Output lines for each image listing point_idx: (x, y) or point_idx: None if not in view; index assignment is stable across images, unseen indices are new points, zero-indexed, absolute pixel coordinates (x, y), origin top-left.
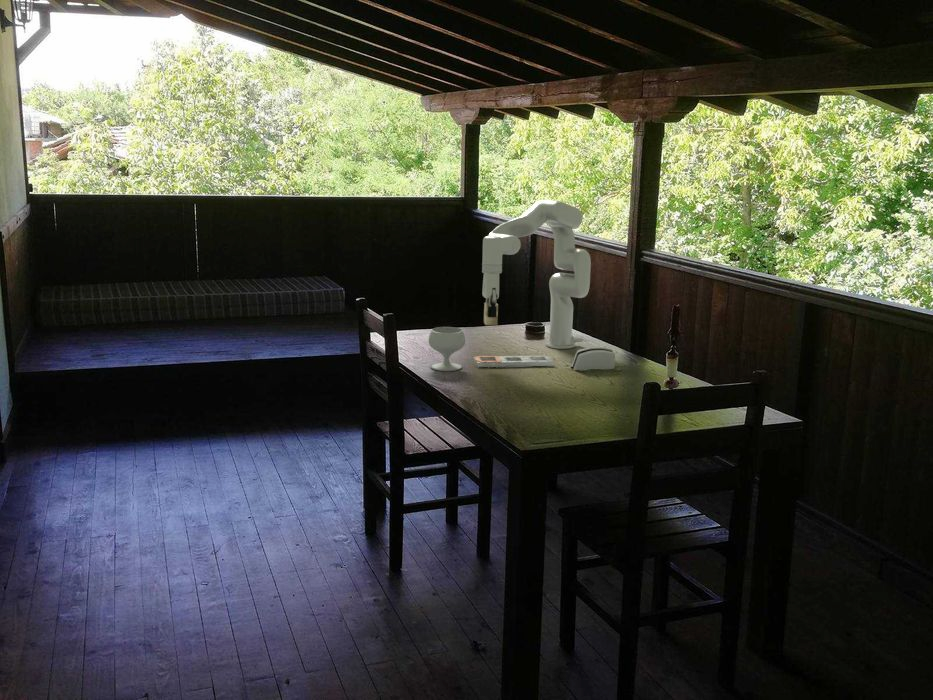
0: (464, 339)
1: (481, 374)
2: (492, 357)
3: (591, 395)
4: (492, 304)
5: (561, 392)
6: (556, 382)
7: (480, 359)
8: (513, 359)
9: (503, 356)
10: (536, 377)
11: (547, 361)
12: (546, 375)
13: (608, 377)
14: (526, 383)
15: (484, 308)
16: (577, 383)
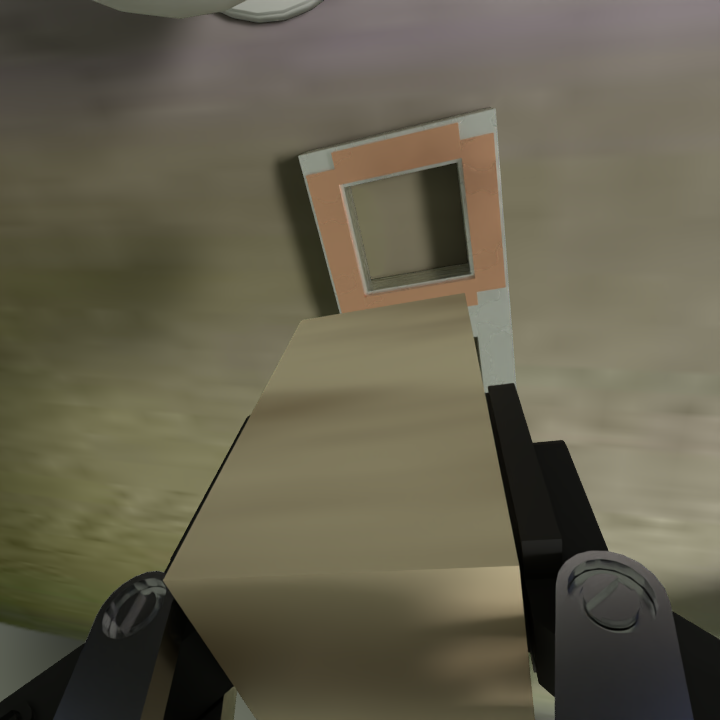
0: (113, 4)
1: (152, 183)
2: (472, 260)
3: (26, 561)
4: (65, 688)
5: (11, 496)
6: (138, 499)
7: (383, 173)
8: (482, 379)
9: (506, 331)
10: (188, 444)
11: None
12: None
13: None
14: (73, 400)
15: (452, 441)
16: (153, 553)
